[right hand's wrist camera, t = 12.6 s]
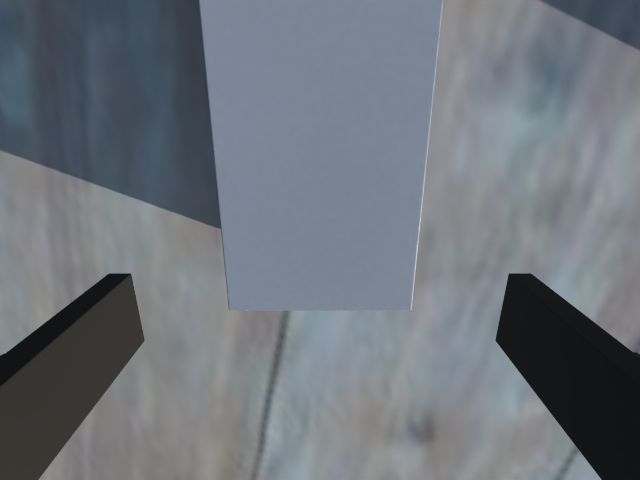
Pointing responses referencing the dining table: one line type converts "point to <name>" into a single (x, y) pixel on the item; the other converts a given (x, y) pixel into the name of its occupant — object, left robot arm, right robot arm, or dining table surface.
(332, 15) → the cabinet
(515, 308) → the right robot arm
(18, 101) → the dining table surface
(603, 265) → the dining table surface
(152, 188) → the dining table surface
